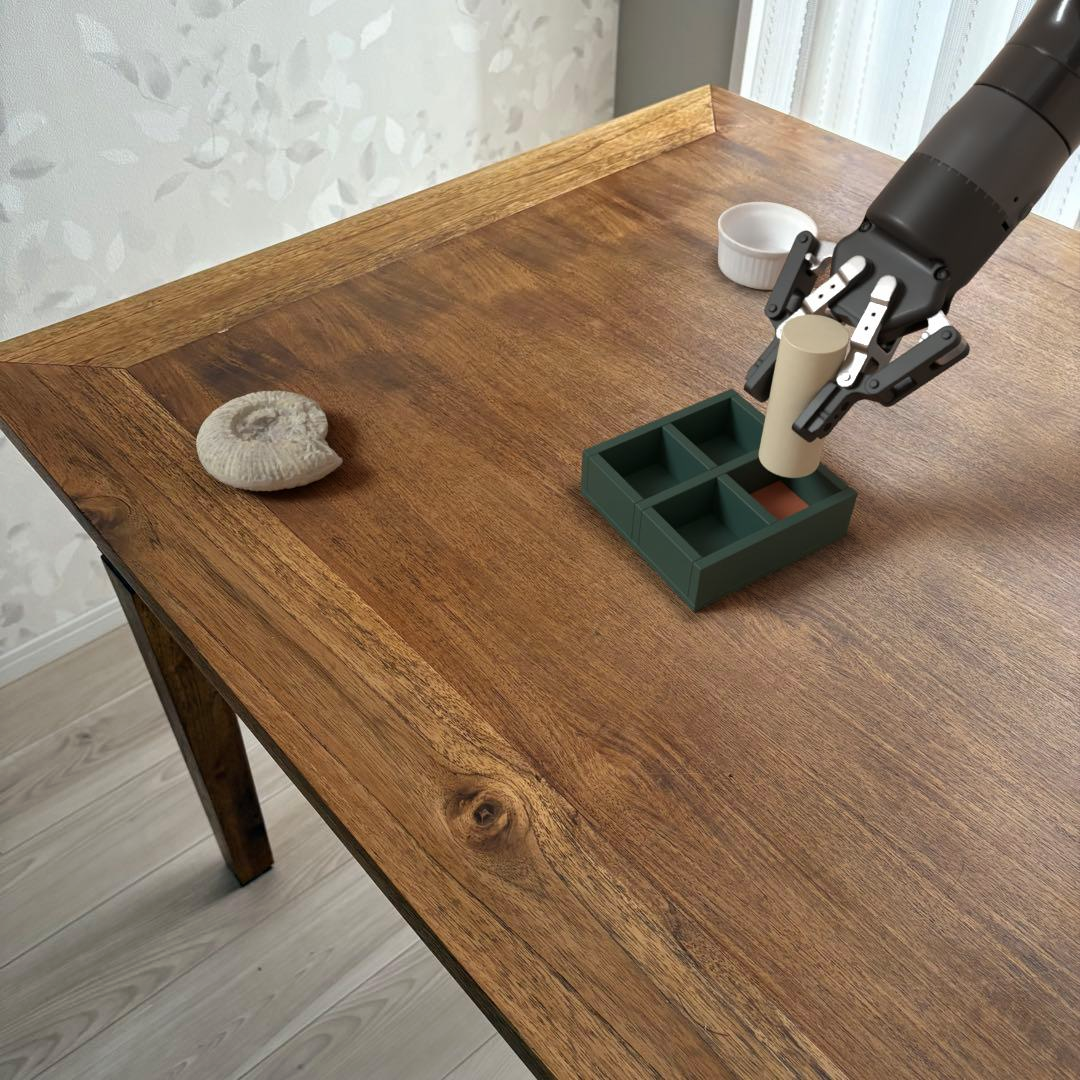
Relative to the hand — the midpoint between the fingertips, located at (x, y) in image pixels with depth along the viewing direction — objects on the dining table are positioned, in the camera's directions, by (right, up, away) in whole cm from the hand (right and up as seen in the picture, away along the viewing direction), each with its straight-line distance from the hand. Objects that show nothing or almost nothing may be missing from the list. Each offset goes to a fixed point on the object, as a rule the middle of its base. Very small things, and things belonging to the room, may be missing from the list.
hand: (777, 415), depth 70 cm
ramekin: (+5, +17, +32) cm, 36 cm away
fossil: (-35, -2, +13) cm, 37 cm away
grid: (-3, -6, +9) cm, 11 cm away
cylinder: (+2, -2, +4) cm, 5 cm away
